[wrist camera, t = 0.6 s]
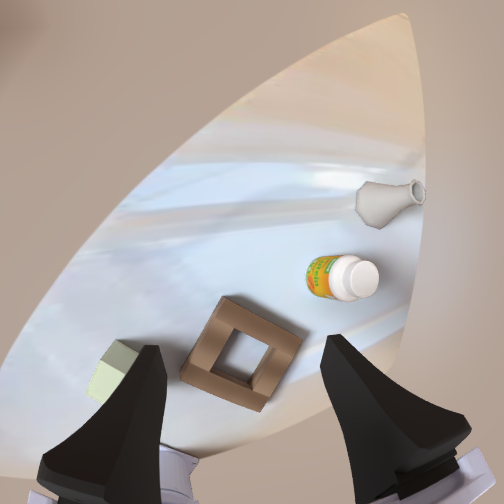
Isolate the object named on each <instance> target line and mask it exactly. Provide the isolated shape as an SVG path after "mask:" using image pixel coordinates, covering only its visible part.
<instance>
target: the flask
mask: <svg viewBox="0 0 504 504" xmlns="http://www.w3.org/2000/svg"><path fill="white" fill-rule="evenodd" d="M425 195H426V190H425V189H424V187H423V185H422V184H421V183H420V182H419V181H417V180H415V179H414V180H413V181H412V182H411V183H410V184H407V185H398V186H395V185H387V184H380V183H374V182H368V181H366V182H365V184H364V185H363V186H362V187H361V188H360V189H359V190H358V191H357V196H356V207H355V210H356V211H357V213H358V214H359V216H360V217H361V218H362V220H363V221H364V223H365V224H366V225H368V226H371V227H374V228H377V229H381V228H382V227H384V226H385V225H386V224H387V223H388V222H389V221H390V220H391V219H392V218H393V217H395V216H396V215H397V214H398V213H399V212H401V211H402V210H403V209H405V208H407V207H409V206H411V205H414V204H418V205H422V204H423V203H424V201H425V199H426V196H425Z"/></svg>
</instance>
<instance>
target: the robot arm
mask: <svg viewBox="0 0 504 504" xmlns="http://www.w3.org/2000/svg"><path fill="white" fill-rule="evenodd" d="M320 369H321V373H322V377H323V381H324V385H325V388H326V390H327V393H328V395H329V398H330V400H331V403H332V405H333V408H334V410H335V413H336V415H337V417H338V420H339V423H340V426H341V429H342V431H343V435H344V439H345V443H346V447H347V452H348V456H349V460H350V466H351V471H352V477H353V484H354V493H355V503H356V504H470V503H472V502H473V501H474V500H475V499H476V498H478V497H479V496H480V495H481V494H483V493H484V492H485V491H486V490H488V489H489V488H490V487H491V486H492V485H494V484H495V482H496V481H495V478H494V476H493V474H492V472H491V470H490V468H489V466H488V465H487V463H486V461H485V459H484V457H483V455H482V453H481V451H480V450H479V448H478V447H475V448H474V449H472V450H471V451H469V452H468V453H466V454H465V455H463V456H462V457H460V458H459V459H457V460H456V459H455V457H454V456H455V455H457V452H456V450H455V447H456V446H458V445H459V444H460V443H461V442H462V441H463V440H464V439H465V438H466V437H467V436H468V435H469V434H470V432H471V429H472V428H471V426H470V425H469V423H468V422H467V420H466V418H465V417H464V415H462V414H459V413H456V412H453V411H449V410H446V409H444V408H441V407H439V406H436V405H434V404H432V403H430V402H428V401H425V400H423V399H422V398H420V397H418V396H416V395H414V394H412V393H411V392H409V391H407V390H406V389H404V388H403V387H401V386H400V385H398V384H397V383H395V382H394V381H393V380H391V379H390V378H389V377H387V376H386V375H385V374H384V373H382V372H381V371H380V370H379V369H377V368H376V367H375V366H374V365H373V364H372V363H371V362H370V361H368V360H367V359H366V358H365V357H364V356H363V355H362V354H361V353H360V352H359V351H358V350H357V349H356V348H355V347H354V346H352V345H351V344H350V343H349V342H348V341H347V340H346V339H345V338H344V337H343V336H342V335H341V334H336V335H328V336H327V340H326V344H325V348H324V352H323V356H322V360H321V364H320ZM166 396H167V373H166V370H165V367H164V363H163V360H162V356H161V353H160V349H159V346H158V345H145V346H144V347H143V348H142V349H141V351H140V353H139V354H138V356H137V358H136V359H135V361H134V363H133V364H132V366H131V367H130V369H129V370H128V372H127V373H126V375H125V376H124V378H123V379H122V381H121V382H120V383H119V385H118V386H117V388H116V389H115V390H114V391H113V393H112V394H111V395H110V397H109V398H108V399H107V400H106V402H105V403H104V404H103V405H102V406H101V407H100V409H99V410H98V411H97V412H96V413H95V414H94V415H93V416H92V417H91V418H90V419H89V420H88V421H87V422H86V423H85V424H84V425H83V426H82V427H81V428H79V429H78V430H77V431H76V432H75V433H73V434H72V435H71V436H70V437H68V438H67V439H66V440H65V441H63V442H62V443H60V444H59V445H57V446H56V447H54V448H53V449H51V450H49V451H48V452H46V453H45V454H43V456H42V459H41V462H40V466H39V470H38V475H37V482H38V483H39V484H40V485H42V486H43V487H45V488H46V489H48V490H50V491H51V492H53V493H54V494H56V495H58V496H59V499H58V501H57V500H54V499H52V498H50V497H47V496H45V495H42V494H40V493H38V492H35V491H33V490H30V493H29V498H28V503H27V504H199V502H198V501H197V500H194V499H193V493H192V488H191V483H190V476H189V475H190V474H191V473H192V471H193V470H194V468H195V467H196V465H197V464H198V463H199V459H198V458H196V457H193V456H190V455H187V454H184V453H182V452H179V451H176V450H173V449H171V448H168V447H166V446H163V445H161V444H160V437H161V430H162V423H163V416H164V410H165V403H166ZM193 462H195V463H193Z"/></svg>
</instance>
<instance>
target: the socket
mask: <svg viewBox="0 0 504 504" xmlns="http://www.w3.org/2000/svg"><path fill="white" fill-rule="evenodd" d="M234 328H235V329H237V330H239V331H241V332H243V333H245V334H247V335H249V336H251V337H253V338H255V339H257V340H259V341H261V342H263V343H265V344H267V345H269V347H268V349H267V351H266V353H265V354H264V356H263V358H262V359H261V361H260V363H259V365H258V366H257V368H256V370H255V371H254V373H253V375H252V377H251V378H250V380H249V382H248V383H246V382H244V381H241V380H239V379H237V378H234V377H232V376H230V375H228V374H225V373H223V372H221V371H219V370H217V369H214V368H212V366H213V364H214V362H215V361H216V359H217V357H218V356H219V354H220V352H221V350H222V349H223V347H224V345H225V343H226V341H227V340H228V338H229V336H230V334H231V333H232V331H233V329H234ZM302 341H303V339H301V338H299V337H297V336H296V335H294V334H292V333H290V332H288V331H286V330H284V329H282V328H280V327H278V326H276V325H274V324H272V323H271V322H269V321H267V320H265V319H263V318H261V317H259V316H257V315H256V314H254V313H252V312H250V311H248V310H246V309H245V308H243V307H241V306H239V305H237V304H236V303H234V302H232V301H230V300H228V299H227V298H225V297H223V296H222V297H221V299H220V301H219V302H218V304H217V306H216V308H215V310H214V311H213V313H212V315H211V317H210V318H209V320H208V322H207V324H206V326H205V327H204V329H203V331H202V333H201V335H200V336H199V338H198V340H197V342H196V343H195V345H194V347H193V349H192V351H191V352H190V354H189V356H188V358H187V360H186V361H185V363H184V365H183V367H182V368H181V370H180V372H179V374H180V380H181V381H183V382H186V383H188V384H190V385H192V386H194V387H197V388H199V389H201V390H203V391H206V392H208V393H210V394H213V395H215V396H217V397H220V398H222V399H225V400H227V401H230V402H232V403H235V404H237V405H240V406H243V407H245V408H248V409H251V410H254V411H256V412H259V413H260V412H261V410H262V408H263V407H264V405H265V404H266V402H267V401H268V399H269V397H270V396H271V394H272V392H273V391H274V389H275V388H276V386H277V384H278V383H279V381H280V379H281V377H282V376H283V374H284V372H285V371H286V369H287V367H288V365H289V364H290V362H291V360H292V359H293V357H294V355H295V353H296V351H297V350H298V348H299V346H300V344H301V342H302Z"/></svg>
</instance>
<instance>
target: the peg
mask: <svg viewBox="0 0 504 504" xmlns="http://www.w3.org/2000/svg"><path fill="white" fill-rule="evenodd" d="M138 354H139V353H138V352H136V351H134V350H133V349H131V348H129V347H127V346H126V345H124V344H122V343H121V342H119V341H117V340H116V339H115V340H114V342H113V343H112V344H111V346H110V347H109V348H108V350H107V351H106V352H105V354H104V355H103V356H102V358H101V359H100V361H99V363H98V365H97V368H96V370H95V372H94V374H93V377H92V379H91V381H90V384H89V386H88V388H87V391H86V393H85V394H86V395H87V396H89V397H91V398H92V399H94V400H96V401H98V402H99V403H101V404H104V403H105V402H106V400H107V399H108V398H109V397H110V395H111V394H112V393H113V391H114V390H115V389H116V388H117V386H118V385H119V383H120V382H121V381H122V379H123V378H124V376H125V375H126V373H127V372H128V370H129V369H130V367H131V366H132V364H133V363H134V361H135V359H136V358H137V356H138Z"/></svg>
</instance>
